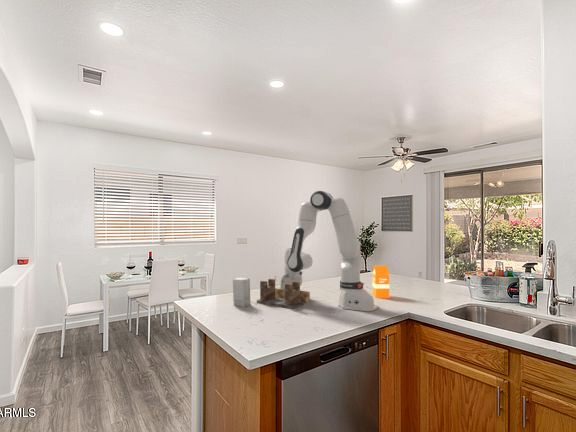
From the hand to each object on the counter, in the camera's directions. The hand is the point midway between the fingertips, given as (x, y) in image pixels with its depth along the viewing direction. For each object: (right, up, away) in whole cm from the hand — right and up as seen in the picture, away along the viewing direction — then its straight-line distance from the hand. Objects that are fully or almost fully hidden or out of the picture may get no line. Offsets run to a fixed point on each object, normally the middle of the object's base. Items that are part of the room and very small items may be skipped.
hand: (291, 295), depth 200 cm
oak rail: (0, -3, 0) cm, 3 cm away
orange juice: (+59, -3, +7) cm, 59 cm away
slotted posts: (-7, -2, -11) cm, 13 cm away
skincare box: (-29, -3, -14) cm, 33 cm away
